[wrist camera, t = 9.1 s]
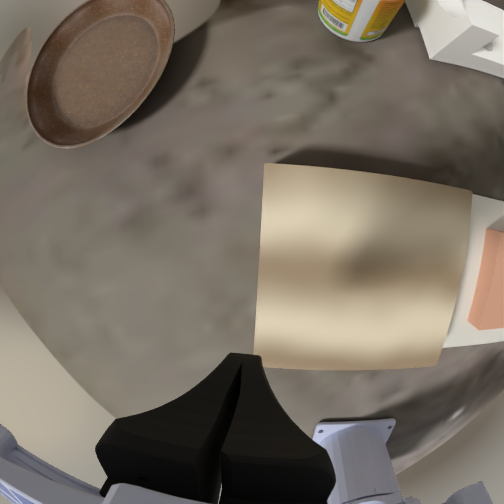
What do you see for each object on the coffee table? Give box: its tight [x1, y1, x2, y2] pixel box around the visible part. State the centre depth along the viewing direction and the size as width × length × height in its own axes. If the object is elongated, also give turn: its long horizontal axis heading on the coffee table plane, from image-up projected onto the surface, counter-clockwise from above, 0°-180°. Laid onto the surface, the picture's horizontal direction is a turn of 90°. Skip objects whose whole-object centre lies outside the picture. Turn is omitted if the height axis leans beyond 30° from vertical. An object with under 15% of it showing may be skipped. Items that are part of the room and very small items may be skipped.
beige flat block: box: [254, 163, 472, 370], centre depth 18 cm, size 13×14×3 cm
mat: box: [442, 194, 504, 348], centre depth 19 cm, size 13×12×1 cm
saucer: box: [26, 0, 175, 148], centre depth 17 cm, size 15×15×3 cm
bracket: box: [405, 0, 504, 78], centre depth 11 cm, size 13×7×8 cm, turn 96°
